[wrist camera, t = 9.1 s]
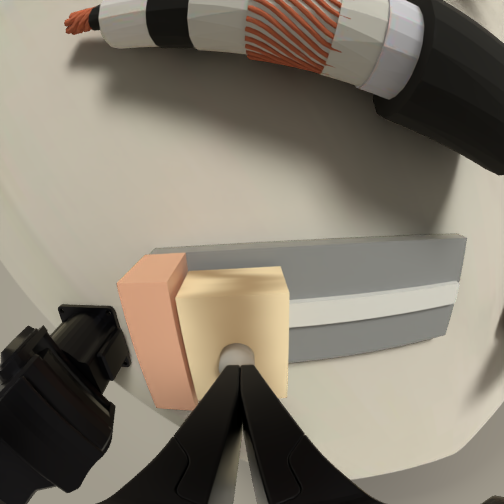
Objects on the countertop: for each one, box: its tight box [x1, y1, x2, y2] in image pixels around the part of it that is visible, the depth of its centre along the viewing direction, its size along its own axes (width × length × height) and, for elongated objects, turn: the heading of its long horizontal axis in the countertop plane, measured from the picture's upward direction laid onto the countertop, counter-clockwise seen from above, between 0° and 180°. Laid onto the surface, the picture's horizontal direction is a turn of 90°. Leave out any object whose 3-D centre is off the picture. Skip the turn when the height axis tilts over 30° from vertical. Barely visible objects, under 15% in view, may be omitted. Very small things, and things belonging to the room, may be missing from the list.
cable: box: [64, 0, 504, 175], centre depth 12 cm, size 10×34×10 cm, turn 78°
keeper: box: [175, 266, 289, 401], centre depth 17 cm, size 6×8×5 cm
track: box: [117, 234, 467, 410], centre depth 19 cm, size 26×10×6 cm, turn 93°
